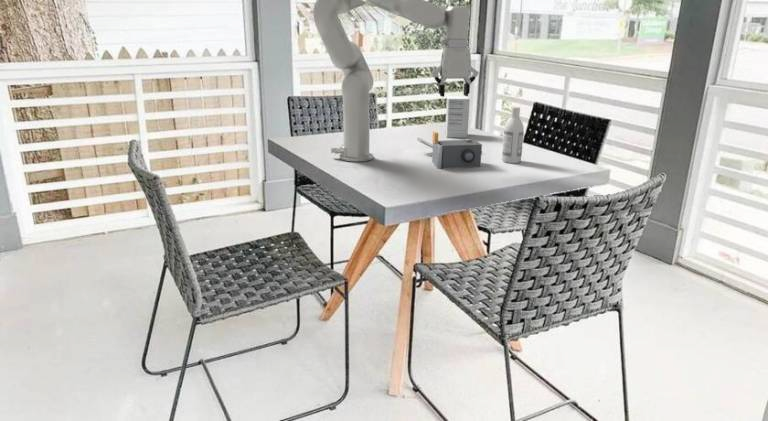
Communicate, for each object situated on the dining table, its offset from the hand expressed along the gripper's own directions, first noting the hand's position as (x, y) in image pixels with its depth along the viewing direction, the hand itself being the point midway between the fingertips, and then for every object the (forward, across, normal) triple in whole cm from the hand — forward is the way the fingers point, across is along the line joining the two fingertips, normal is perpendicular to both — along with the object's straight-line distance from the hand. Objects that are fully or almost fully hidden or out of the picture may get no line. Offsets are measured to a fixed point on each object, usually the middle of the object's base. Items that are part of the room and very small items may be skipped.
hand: (454, 95), depth 208 cm
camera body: (+24, +2, -3) cm, 24 cm away
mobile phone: (+25, +4, +15) cm, 29 cm away
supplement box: (+24, +16, +46) cm, 55 cm away
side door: (+24, -6, -3) cm, 25 cm away
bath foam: (+24, +23, -1) cm, 34 cm away
